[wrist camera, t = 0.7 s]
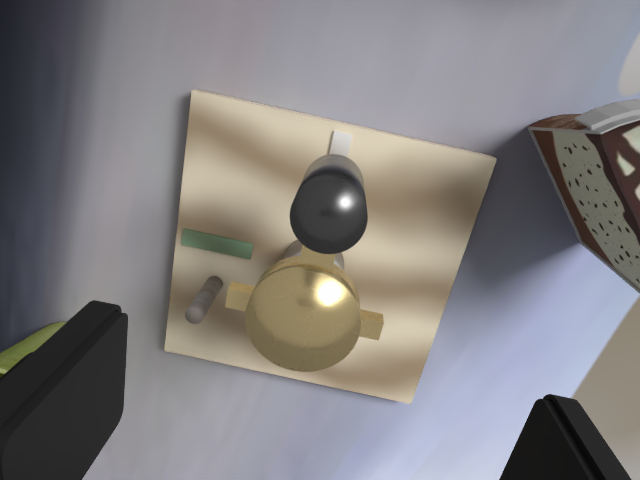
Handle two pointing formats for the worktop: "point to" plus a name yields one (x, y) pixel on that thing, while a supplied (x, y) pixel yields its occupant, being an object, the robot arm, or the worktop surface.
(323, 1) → the worktop surface
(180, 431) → the worktop surface
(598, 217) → the food container
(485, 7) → the worktop surface
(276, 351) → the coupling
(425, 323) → the post base
